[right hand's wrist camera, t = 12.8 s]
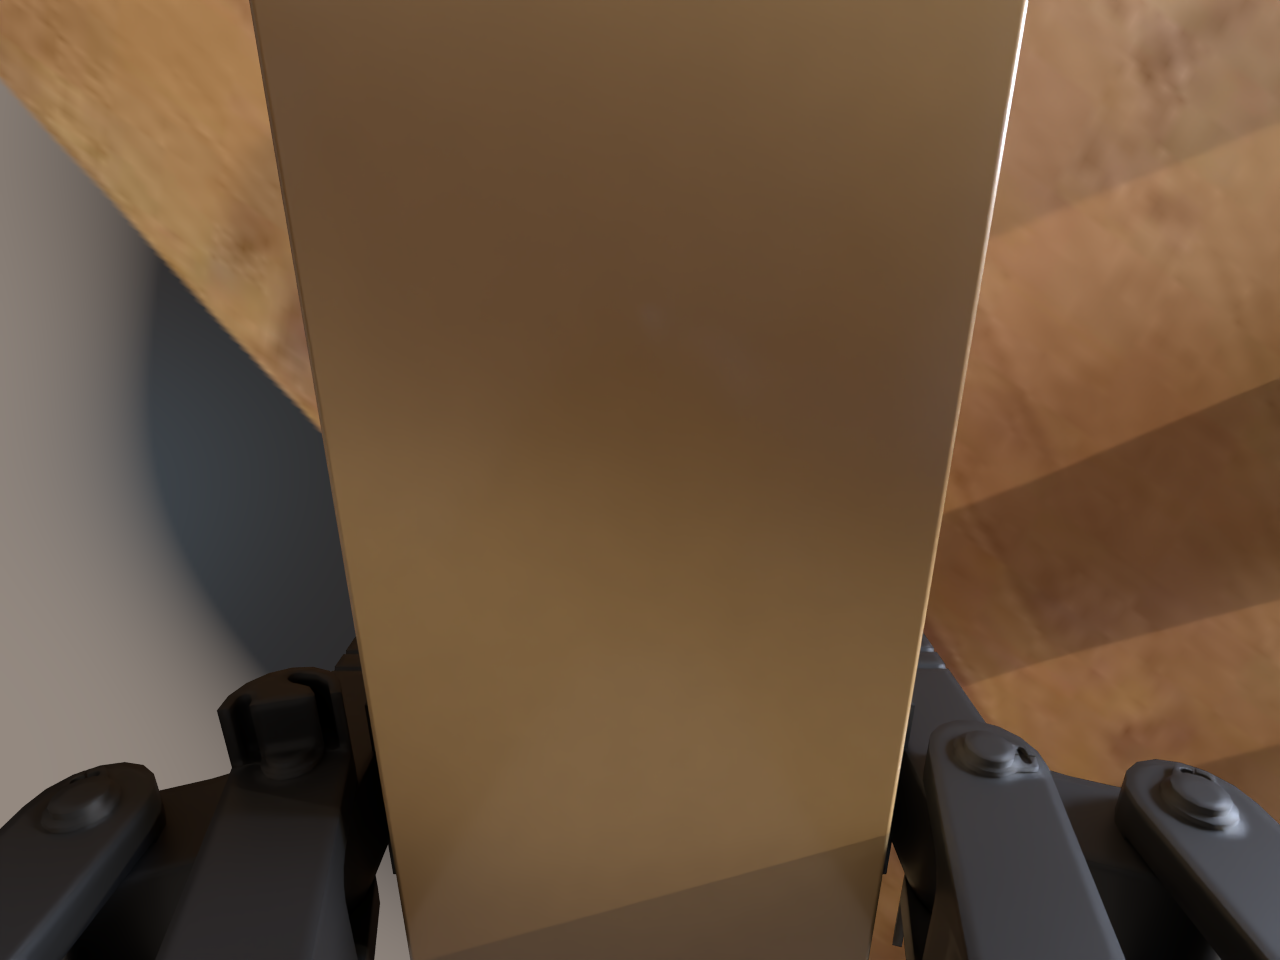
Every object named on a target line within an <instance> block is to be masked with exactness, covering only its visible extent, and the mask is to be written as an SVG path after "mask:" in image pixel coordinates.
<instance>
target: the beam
mask: <svg viewBox="0 0 1280 960" xmlns="http://www.w3.org/2000/svg"><path fill="white" fill-rule="evenodd" d="M249 2H250V8H251V14H252V20H253V26H254V32H255V38H256V44H257V50H258V56H259V61H260V67H261V73H262V79H263V85H264V91H265V97H266V103H267V109H268V115H269V121H270V127H271V133H272V139H273V145H274V151H275V157H276V163H277V169H278V174H279V180H280V186H281V192H282V198H283V204H284V210H285V216H286V222H287V228H288V234H289V240H290V246H291V252H292V258H293V264H294V270H295V276H296V282H297V287H298V293H299V299H300V305H301V311H302V317H303V323H304V329H305V335H306V341H307V347H308V353H309V359H310V365H311V371H312V377H313V383H314V389H315V395H316V400H317V406H318V412H319V418H320V424H321V430H322V436H323V442H324V448H325V454H326V460H327V466H328V472H329V478H330V484H331V490H332V496H333V501H334V507H335V513H336V519H337V525H338V531H339V537H340V543H341V549H342V555H343V561H344V567H345V573H346V579H347V585H348V591H349V596H350V603H351V609H352V615H353V620H354V627H355V632H356V638H357V644H358V650H359V656H360V662H361V668H362V674H363V680H364V686H365V692H366V698H367V704H368V710H369V716H370V722H371V728H372V734H373V740H374V745H375V751H376V757H377V763H378V769H379V775H380V781H381V787H382V793H383V799H384V805H385V811H386V817H387V823H388V829H389V835H390V841H391V847H392V853H393V858H394V864H395V870H396V876H397V882H398V888H399V894H400V900H401V906H402V912H403V918H404V924H405V930H406V936H407V942H408V948H409V954H410V960H868V959H869V953H870V947H871V941H872V935H873V929H874V923H875V917H876V911H877V905H878V899H879V893H880V887H881V881H882V875H883V869H884V863H885V857H886V851H887V845H888V839H889V833H890V827H891V821H892V815H893V809H894V803H895V797H896V791H897V785H898V779H899V773H900V767H901V761H902V755H903V749H904V743H905V737H906V731H907V725H908V719H909V713H910V707H911V701H912V695H913V689H914V683H915V677H916V671H917V665H918V659H919V653H920V647H921V641H922V635H923V629H924V623H925V617H926V611H927V605H928V599H929V593H930V587H931V581H932V575H933V569H934V563H935V557H936V551H937V545H938V539H939V533H940V527H941V521H942V515H943V509H944V503H945V497H946V491H947V485H948V479H949V473H950V467H951V461H952V455H953V449H954V443H955V437H956V431H957V425H958V419H959V413H960V408H961V402H962V396H963V390H964V384H965V378H966V372H967V366H968V360H969V354H970V348H971V342H972V336H973V330H974V324H975V318H976V312H977V306H978V300H979V294H980V288H981V282H982V276H983V270H984V264H985V258H986V252H987V246H988V240H989V234H990V228H991V222H992V216H993V210H994V204H995V198H996V192H997V186H998V180H999V174H1000V168H1001V162H1002V156H1003V150H1004V144H1005V138H1006V132H1007V126H1008V120H1009V114H1010V108H1011V102H1012V96H1013V90H1014V84H1015V78H1016V72H1017V66H1018V60H1019V54H1020V48H1021V42H1022V36H1023V30H1024V24H1025V18H1026V12H1027V6H1028V0H249Z"/></svg>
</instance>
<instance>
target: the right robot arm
mask: <svg viewBox="0 0 1280 960" xmlns="http://www.w3.org/2000/svg"><path fill="white" fill-rule="evenodd" d="M217 712H218V716H219V720H220V724H221V728H222V731H223V735H224V739H225V743H226V746H227V751H228V754H229V758H230V762H231V766H232V769H231V772H230V773H229V774H226V775H223V776H220V777H216V778H213V779H209V780H204V781H200V782H195V783H191V784H187V785H182V786H178V787H173V788H169V789H165V790H160V791H159V789H158V786H157V783H156V779H155V776H154V774H153V773H152V772H151V771H150V770H149V769H147V768H146V767H145V766H144V765H140V764H133V763H127V762H123V763H115V764H108V765H101V766H98V767H95V768H92V769H88V770H86V771H82V772H80V773H77V774H74V775H72V776H70V777H68V778H66V779H64V780H62V781H60V782H59V783H57V784H55V785H53V786H51V787H49V788H47V789H46V790H44V791H43V792H42V793H40V794H39V795H38V796H37V797H35V798H34V799H33V800H31V801H30V802H29V803H27V804H26V805H25V806H24V807H22V808H21V809H20V810H19V811H18V812H17V813H16V814H15V815H14V816H13V817H12V818H11V819H10V820H9V821H8V822H7V823H6V824H5V825H4V826H3V827H2V828H1V829H0V960H374V956H375V946H376V937H377V927H378V917H379V907H380V900H379V893H378V886H377V881H376V872H377V870H378V867H379V865H380V863H381V860H382V858H383V855H384V853H385V850H386V848H387V845H388V846H389V852H390V858H391V864H392V869H393V874H396V870H395V864H394V858H393V853H392V847H391V841H390V835H389V829H388V823H387V817H386V811H385V805H384V799H383V793H382V787H381V781H380V775H379V769H378V763H377V757H376V751H375V745H374V740H373V734H372V728H371V722H370V716H369V710H368V704H367V698H366V692H365V686H364V680H363V674H362V668H361V662H360V656H359V650H358V644H357V638H356V637H355V638H354V640H353V641H352V643H351V644H350V646H349V647H348V649H347V650H346V654H344V655H343V656H342V657H341V659H340V660H339V662H338V663H337V665H336V666H335V671H332V672H330V671H327V670H323V669H319V668H315V667H298V668H289V669H285V670H281V671H276V672H272V673H268V674H266V675H264V676H262V677H259V678H257V679H255V680H253V681H250V682H248V683H246V684H245V685H243V686H242V687H240V688H239V689H238V690H236V691H235V692H233V693H232V694H231V695H229V696H228V697H227V699H226V700H225V701H224V702H223V704H222V705H221V706H220V707H219V709H218V710H217ZM891 843H893V845H894V848H895V850H896V853H897V855H898V858H899V860H900V863H901V865H902V867H903V870H904V872H905V875H904V881H903V886H902V891H901V897H900V902H899V908H898V913H897V919H896V924H895V930H894V937H893V944H892V945H895V946H899V947H902V942H903V937H904V945H905V954H906V960H1280V825H1279V824H1278V823H1277V822H1276V821H1275V820H1274V819H1273V818H1272V817H1271V816H1270V815H1269V814H1268V813H1267V812H1266V811H1265V810H1264V809H1263V808H1261V807H1260V806H1259V805H1258V804H1257V803H1256V802H1255V801H1253V800H1252V799H1251V798H1249V797H1248V796H1247V795H1246V794H1244V793H1243V792H1242V791H1240V790H1239V789H1238V788H1236V787H1235V786H1234V785H1232V784H1230V783H1228V782H1226V781H1224V780H1222V779H1220V778H1218V777H1216V776H1215V775H1213V774H1211V773H1209V772H1207V771H1204V770H1201V769H1198V768H1195V767H1192V766H1189V765H1186V764H1183V763H1180V762H1173V761H1165V760H1158V759H1153V760H1147V761H1140V762H1136V763H1135V764H1134V765H1133V766H1132V767H1131V768H1129V769H1128V770H1127V771H1126V774H1125V778H1124V781H1123V784H1122V787H1121V788H1119V787H1115V786H1111V785H1106V784H1102V783H1097V782H1093V781H1089V780H1084V779H1080V778H1075V777H1071V776H1067V775H1064V774H1060V773H1057V772H1053V771H1050V770H1049V768H1048V766H1047V765H1046V763H1045V762H1044V760H1043V759H1042V757H1041V756H1040V754H1039V753H1038V751H1036V750H1035V749H1034V748H1033V747H1031V746H1030V745H1029V744H1028V743H1027V742H1025V741H1024V740H1023V739H1022V738H1020V737H1018V736H1016V735H1014V734H1012V733H1010V732H1008V731H1006V730H1004V729H1002V728H1000V727H998V726H994V725H990V724H987V723H985V721H984V720H983V718H982V717H981V715H980V714H979V712H978V711H977V710H976V708H975V707H974V705H973V704H972V702H971V701H970V699H969V698H968V697H967V695H966V694H965V692H964V691H963V689H962V688H961V687H960V685H959V684H958V682H957V681H956V679H955V678H954V676H953V675H952V674H951V672H950V671H949V669H946V668H945V663H944V662H943V661H942V659H941V658H940V656H939V655H938V653H937V652H934V648H933V646H932V645H931V643H930V642H929V640H928V639H927V638H926V636H925V635H924V633H923V635H922V641H921V647H920V653H919V659H918V665H917V671H916V677H915V683H914V689H913V695H912V701H911V707H910V713H909V719H908V725H907V731H906V737H905V743H904V749H903V755H902V761H901V767H900V773H899V779H898V785H897V791H896V797H895V803H894V809H893V815H892V821H891V827H890V833H889V839H888V845H887V851H886V857H885V863H884V869H883V874H886V873H887V867H888V861H889V855H890V849H891Z"/></svg>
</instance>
